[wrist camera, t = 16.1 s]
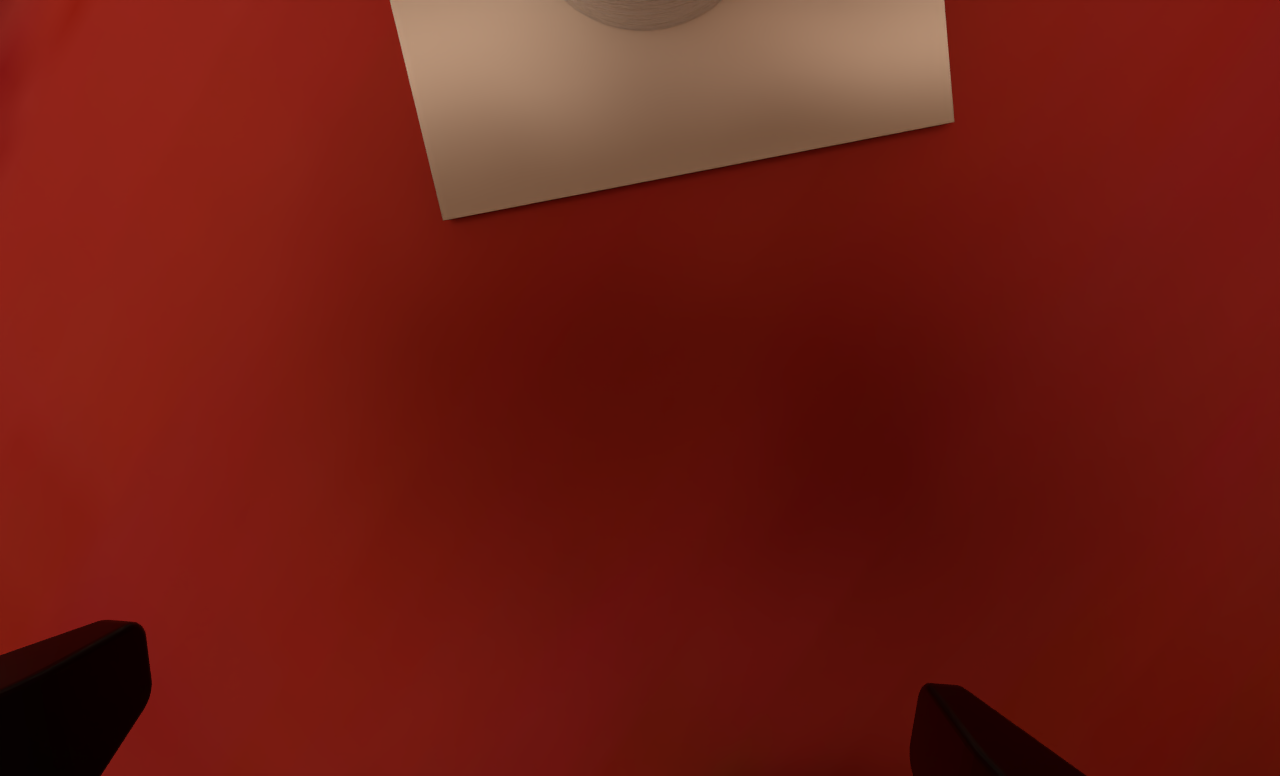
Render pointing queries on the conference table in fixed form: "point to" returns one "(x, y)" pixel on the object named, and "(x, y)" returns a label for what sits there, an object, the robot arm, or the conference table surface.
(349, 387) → the conference table surface
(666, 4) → the steel flask
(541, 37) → the beige square tile
